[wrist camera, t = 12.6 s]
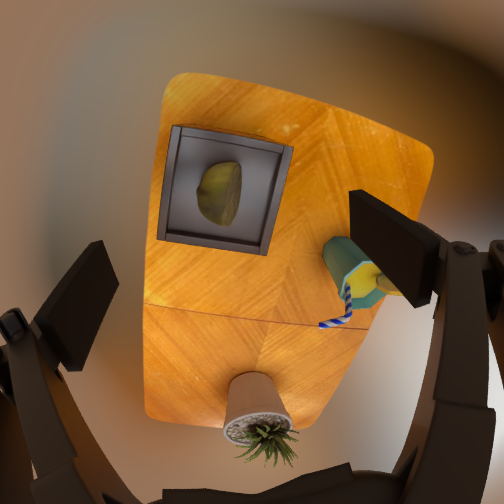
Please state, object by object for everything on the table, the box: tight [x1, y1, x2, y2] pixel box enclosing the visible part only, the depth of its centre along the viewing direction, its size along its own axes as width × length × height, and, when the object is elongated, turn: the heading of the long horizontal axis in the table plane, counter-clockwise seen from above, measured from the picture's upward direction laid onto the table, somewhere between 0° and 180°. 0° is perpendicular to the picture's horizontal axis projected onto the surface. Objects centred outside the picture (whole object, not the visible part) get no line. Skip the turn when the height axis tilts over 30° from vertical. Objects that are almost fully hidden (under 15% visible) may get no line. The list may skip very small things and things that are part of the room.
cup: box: [319, 236, 403, 329], centre depth 38 cm, size 14×8×15 cm, turn 109°
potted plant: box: [223, 372, 299, 467], centre depth 47 cm, size 13×14×20 cm
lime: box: [196, 162, 242, 226], centre depth 23 cm, size 4×5×5 cm
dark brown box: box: [157, 124, 294, 256], centre depth 31 cm, size 10×10×15 cm
